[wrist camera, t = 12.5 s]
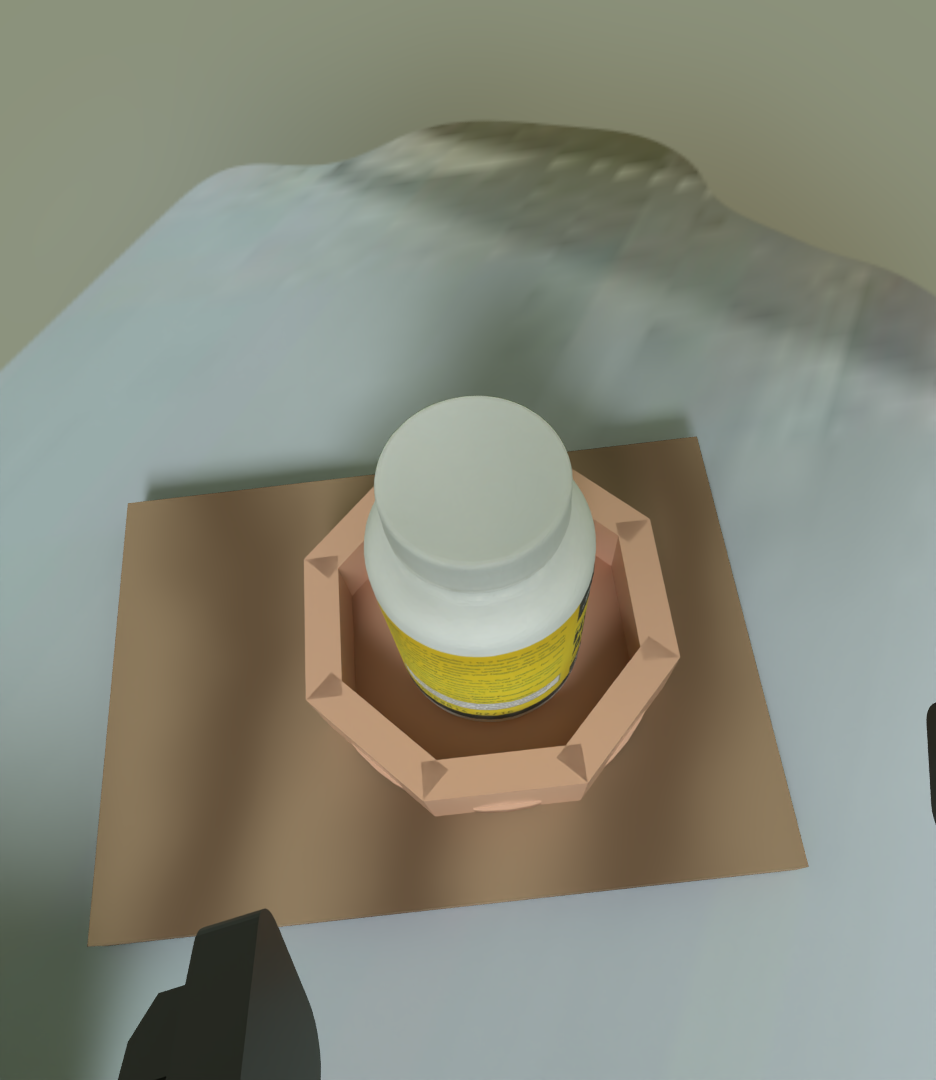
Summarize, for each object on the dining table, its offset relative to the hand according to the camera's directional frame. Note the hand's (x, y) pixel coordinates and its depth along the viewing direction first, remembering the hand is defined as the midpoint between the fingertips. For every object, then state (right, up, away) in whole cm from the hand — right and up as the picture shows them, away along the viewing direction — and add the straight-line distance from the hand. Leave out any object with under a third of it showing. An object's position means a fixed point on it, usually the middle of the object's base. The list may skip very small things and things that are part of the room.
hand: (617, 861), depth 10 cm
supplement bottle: (-1, +1, +16) cm, 16 cm away
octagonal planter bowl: (-1, +1, +16) cm, 16 cm away
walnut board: (-3, -1, +17) cm, 17 cm away
